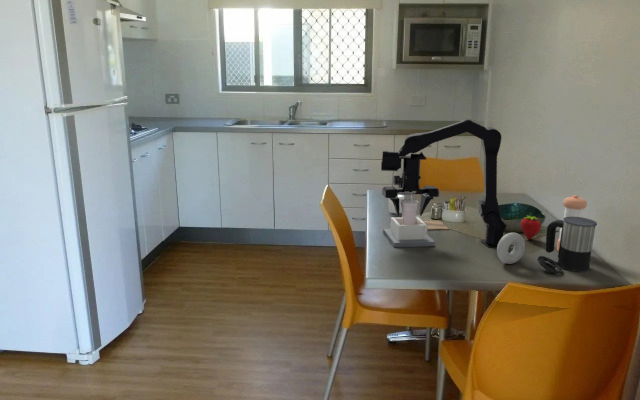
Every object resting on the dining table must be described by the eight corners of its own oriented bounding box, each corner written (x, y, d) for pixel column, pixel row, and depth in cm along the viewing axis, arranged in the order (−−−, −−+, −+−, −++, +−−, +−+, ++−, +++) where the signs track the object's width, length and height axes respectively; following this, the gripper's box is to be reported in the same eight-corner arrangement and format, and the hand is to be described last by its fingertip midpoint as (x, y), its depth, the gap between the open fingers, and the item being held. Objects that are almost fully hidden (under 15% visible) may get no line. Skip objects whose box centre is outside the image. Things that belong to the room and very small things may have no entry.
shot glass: (385, 212, 219) (386, 196, 217) (388, 208, 225) (389, 192, 224) (402, 214, 217) (403, 197, 215) (404, 210, 223) (405, 194, 222)
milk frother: (591, 265, 163) (598, 219, 160) (586, 282, 150) (594, 232, 147) (542, 256, 170) (548, 212, 167) (533, 272, 157) (539, 224, 154)
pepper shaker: (566, 255, 171) (574, 198, 166) (551, 248, 178) (558, 193, 173) (585, 253, 173) (593, 197, 168) (569, 246, 180) (577, 192, 175)
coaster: (448, 229, 197) (448, 228, 197) (420, 230, 196) (420, 229, 196) (439, 221, 208) (439, 220, 208) (411, 221, 207) (411, 220, 206)
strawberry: (530, 243, 183) (533, 215, 180) (514, 237, 189) (517, 210, 187) (543, 241, 185) (546, 214, 182) (527, 235, 192) (530, 208, 189)
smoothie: (420, 230, 182) (422, 190, 179) (402, 231, 181) (404, 191, 178) (414, 224, 188) (415, 186, 185) (397, 225, 187) (398, 187, 184)
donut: (518, 259, 167) (521, 229, 165) (526, 263, 164) (529, 232, 162) (492, 263, 163) (495, 232, 161) (500, 267, 160) (503, 236, 158)
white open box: (434, 245, 179) (435, 227, 177) (394, 247, 177) (395, 228, 176) (420, 231, 194) (421, 214, 193) (382, 232, 193) (383, 215, 191)
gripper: (430, 166, 189) (427, 209, 193) (379, 167, 187) (377, 210, 190) (440, 173, 178) (438, 217, 182) (386, 174, 176) (385, 219, 180)
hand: (409, 215), depth 184 cm, fingers closed on smoothie, 8 cm apart
